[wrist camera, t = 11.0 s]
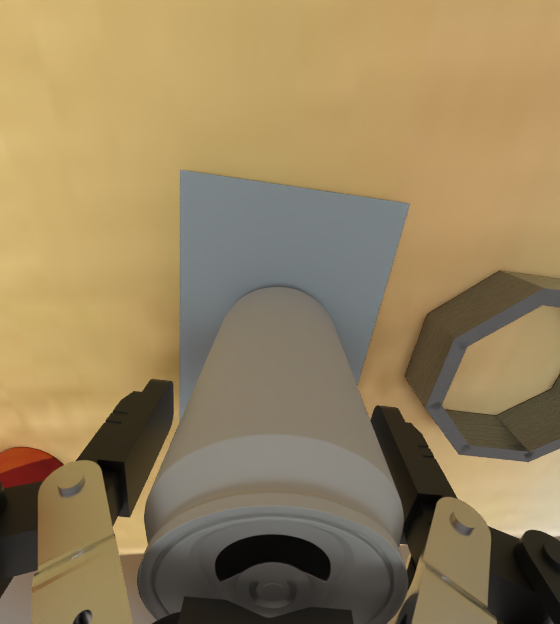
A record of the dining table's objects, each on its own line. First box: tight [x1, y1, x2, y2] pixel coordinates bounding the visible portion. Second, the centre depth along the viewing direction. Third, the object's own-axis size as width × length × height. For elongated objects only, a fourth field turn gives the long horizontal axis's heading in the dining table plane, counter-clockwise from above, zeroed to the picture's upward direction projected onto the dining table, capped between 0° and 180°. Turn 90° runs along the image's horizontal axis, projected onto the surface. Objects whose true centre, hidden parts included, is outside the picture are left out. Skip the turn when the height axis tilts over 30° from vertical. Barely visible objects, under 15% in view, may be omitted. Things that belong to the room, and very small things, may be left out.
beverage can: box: [137, 287, 408, 624], centre depth 12 cm, size 6×6×12 cm
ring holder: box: [405, 271, 560, 462], centre depth 17 cm, size 11×11×3 cm
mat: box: [180, 170, 410, 421], centre depth 18 cm, size 11×16×1 cm
